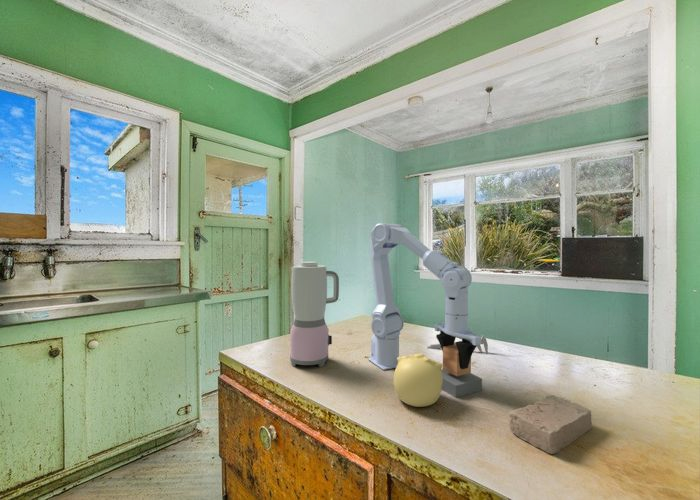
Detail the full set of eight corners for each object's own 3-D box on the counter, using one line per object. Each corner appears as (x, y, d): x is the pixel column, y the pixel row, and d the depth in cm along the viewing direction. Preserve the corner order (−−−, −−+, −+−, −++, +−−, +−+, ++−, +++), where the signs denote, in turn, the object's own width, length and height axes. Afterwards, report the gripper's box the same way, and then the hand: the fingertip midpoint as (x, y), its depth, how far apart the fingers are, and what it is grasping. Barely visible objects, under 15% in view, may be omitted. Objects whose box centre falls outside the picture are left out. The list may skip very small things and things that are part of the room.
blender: (287, 369, 93) (286, 263, 93) (292, 355, 106) (291, 261, 105) (339, 368, 94) (339, 263, 94) (338, 354, 107) (338, 260, 106)
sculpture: (445, 393, 79) (445, 351, 78) (438, 417, 68) (438, 368, 67) (400, 385, 83) (400, 345, 83) (387, 406, 72) (387, 360, 72)
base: (431, 382, 84) (431, 371, 84) (456, 376, 88) (456, 366, 88) (455, 397, 76) (455, 385, 76) (482, 390, 80) (482, 378, 80)
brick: (550, 411, 71) (550, 390, 71) (594, 429, 64) (594, 407, 64) (507, 434, 62) (507, 411, 62) (552, 459, 55) (552, 433, 55)
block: (442, 368, 83) (443, 346, 83) (456, 365, 86) (456, 344, 86) (456, 376, 79) (457, 352, 79) (470, 372, 81) (471, 349, 81)
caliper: (487, 353, 108) (487, 335, 108) (487, 354, 107) (487, 335, 107) (426, 348, 113) (427, 330, 113) (426, 348, 112) (426, 331, 112)
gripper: (490, 317, 77) (489, 371, 77) (448, 306, 90) (448, 353, 90) (469, 320, 74) (468, 377, 74) (429, 309, 87) (428, 357, 87)
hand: (456, 364), depth 82 cm, fingers closed on block, 5 cm apart
